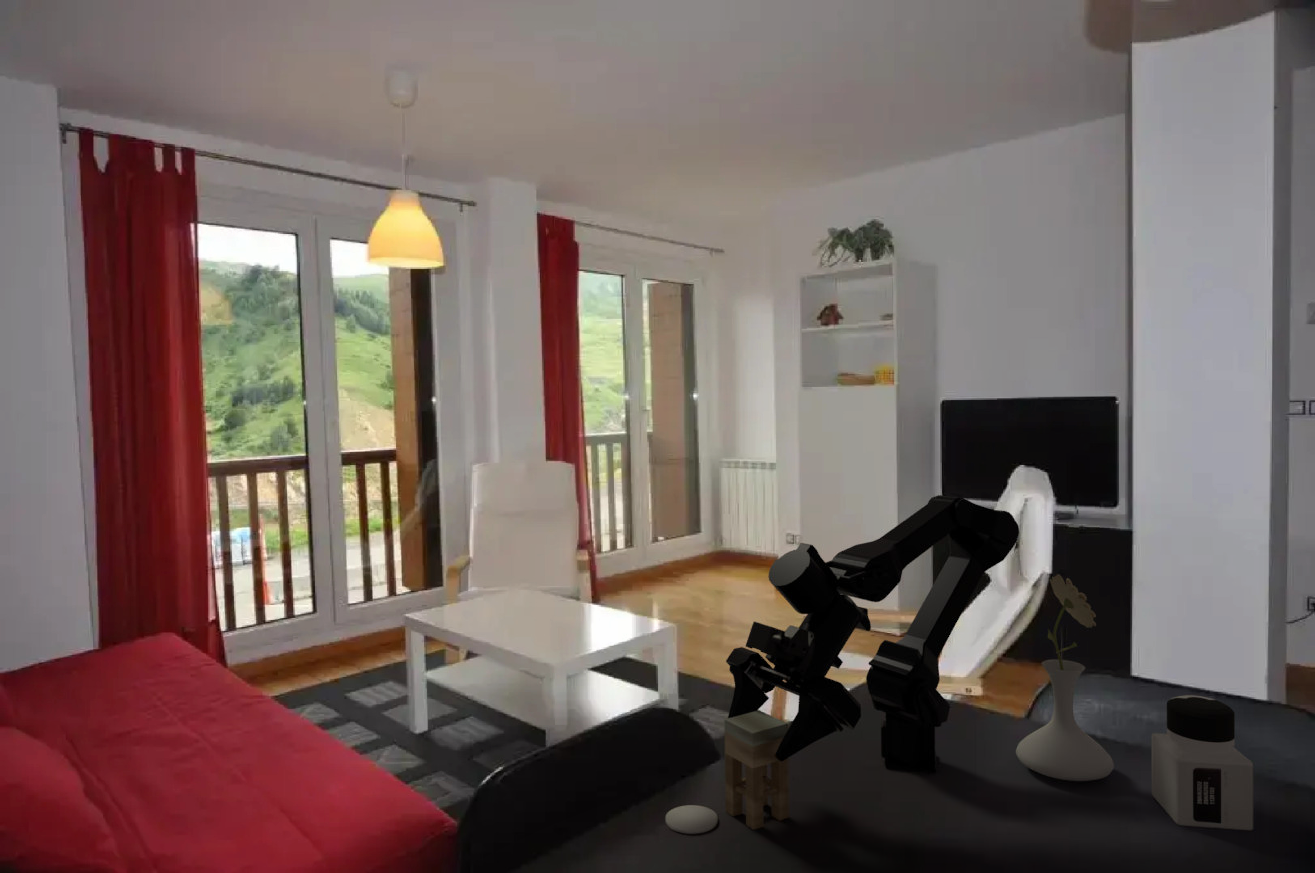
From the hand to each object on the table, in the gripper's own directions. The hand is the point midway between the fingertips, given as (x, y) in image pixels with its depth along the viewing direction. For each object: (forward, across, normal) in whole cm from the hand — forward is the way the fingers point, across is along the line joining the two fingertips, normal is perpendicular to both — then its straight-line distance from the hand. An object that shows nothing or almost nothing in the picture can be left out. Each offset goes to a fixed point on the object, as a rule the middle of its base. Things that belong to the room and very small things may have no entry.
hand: (751, 745), depth 97 cm
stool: (+5, 0, +6) cm, 8 cm away
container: (-25, +29, +36) cm, 52 cm away
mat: (+10, -3, +1) cm, 11 cm away
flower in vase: (-24, +13, +35) cm, 44 cm away
